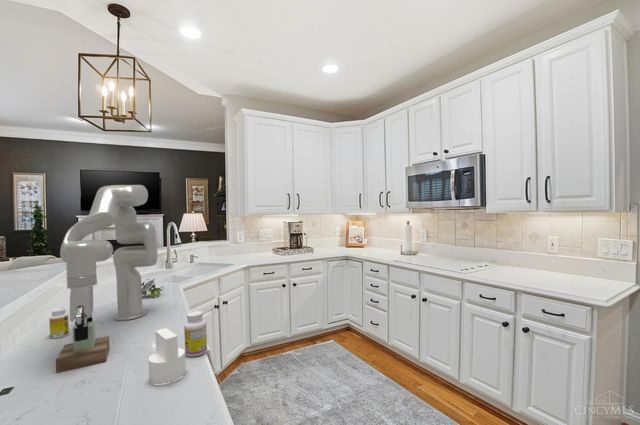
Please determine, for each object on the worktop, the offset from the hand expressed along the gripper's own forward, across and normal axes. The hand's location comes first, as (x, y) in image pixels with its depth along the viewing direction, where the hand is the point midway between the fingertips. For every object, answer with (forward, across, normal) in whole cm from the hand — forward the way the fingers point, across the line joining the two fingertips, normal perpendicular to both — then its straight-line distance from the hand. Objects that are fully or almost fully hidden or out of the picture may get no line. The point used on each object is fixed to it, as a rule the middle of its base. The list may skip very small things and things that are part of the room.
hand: (84, 334), depth 98 cm
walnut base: (+8, 0, 0) cm, 8 cm away
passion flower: (+8, -76, +20) cm, 80 cm away
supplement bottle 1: (+8, -31, -12) cm, 34 cm away
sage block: (+4, 0, 0) cm, 4 cm away
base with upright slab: (+8, +27, +22) cm, 36 cm away
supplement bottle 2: (+8, +16, +31) cm, 36 cm away
